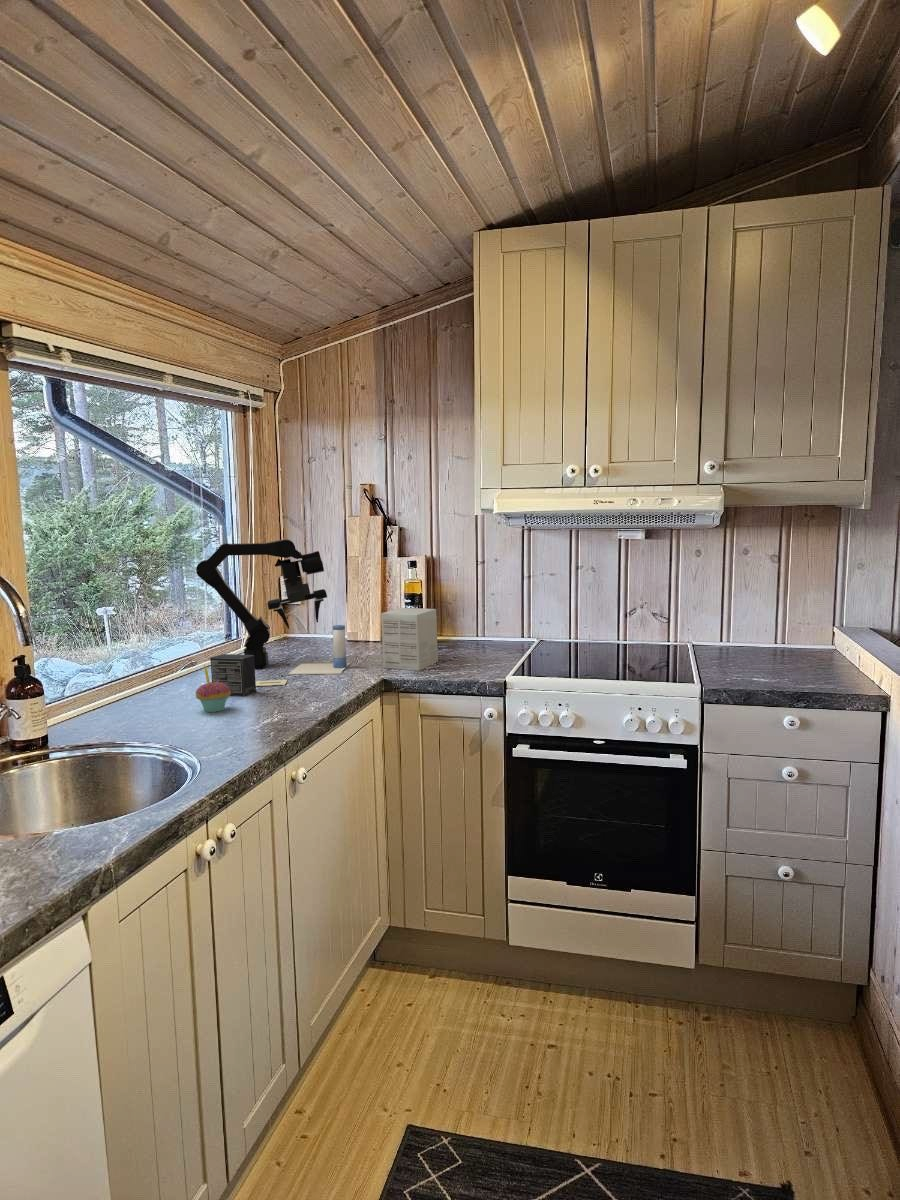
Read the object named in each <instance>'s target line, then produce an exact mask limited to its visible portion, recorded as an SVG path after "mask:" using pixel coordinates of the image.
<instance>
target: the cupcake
mask: <svg viewBox="0 0 900 1200" xmlns="http://www.w3.org/2000/svg"><path fill="white" fill-rule="evenodd" d="M203 669H204V674H205V678H206V683H204V684H202V685H200V686H199V687H198V688H196V690H195V698H196V699H197V700H199V701H200V703H201V705H202V707H203V710H204V712H206V711H207V712H206V713H217V712H216V711H218V712H222V711H223V709H225V706H226V703H227V699H228V697H230V696H232V695H231V692H230V688H229V687H228V686H227V685H225V684H224V683H221V682H212V681H211V682H210V677H209V671H208V667H207V666H206V665H205V664H204V668H203ZM221 710H222V711H221Z"/></svg>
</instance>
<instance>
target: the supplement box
mask: <svg viewBox="0 0 900 1200" xmlns="http://www.w3.org/2000/svg"><path fill="white" fill-rule="evenodd" d="M380 617H381V640H382V641H381V644H382V645H381V646H382V667H383V669H393V670H394V669H395V670H405V671H406V670H408V671H417V672H418V671H422V670H424V669H426V668H429V667H431V666H433V665H435V664H437V663H438V662H439V657H438V656H439V655H438V653H439V652H438V651H439V650H438V627H437V626H438V624H437V623H438V622H437V609H436V608H421V607H419V608H417V607H414V608H413V607H399V608H396V609H391V610H389V611H385V612H381V615H380ZM436 662H437V663H436ZM434 663H435V664H434ZM432 664H433V665H432ZM430 665H431V666H430ZM428 666H429V667H428Z"/></svg>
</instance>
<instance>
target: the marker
mask: <svg viewBox="0 0 900 1200" xmlns="http://www.w3.org/2000/svg"><path fill="white" fill-rule="evenodd" d="M346 644H347V643H346V624H345V625H344V624H335V625H332V646H333V647H332V648H333V649H332V650H333V657H332V662H333V667H334V668H345V667H347V662H348V661H347V658H348V657H347V656H346V655H347V652H346V650H347V649H346V647H347V645H346ZM347 668H348V667H347Z"/></svg>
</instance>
